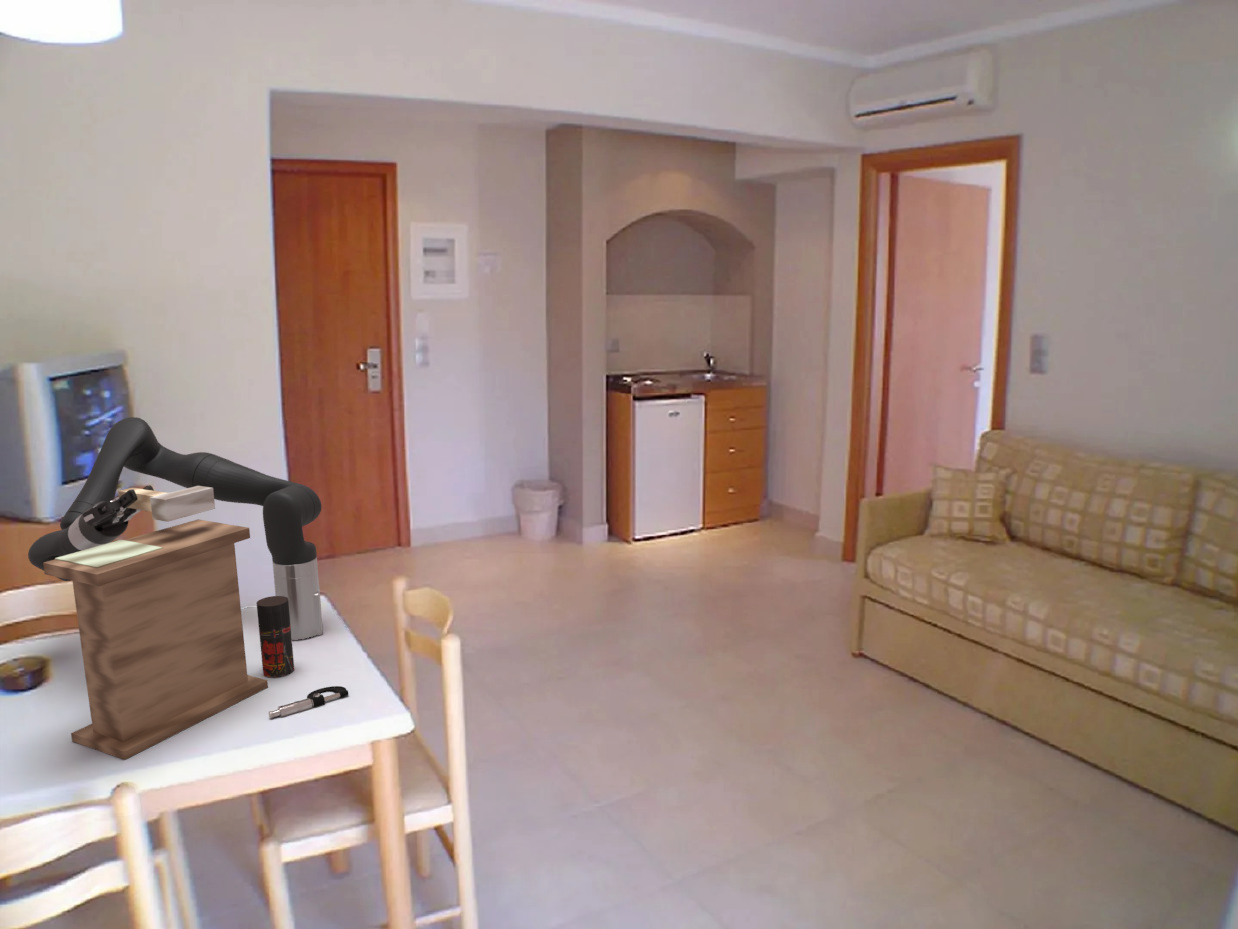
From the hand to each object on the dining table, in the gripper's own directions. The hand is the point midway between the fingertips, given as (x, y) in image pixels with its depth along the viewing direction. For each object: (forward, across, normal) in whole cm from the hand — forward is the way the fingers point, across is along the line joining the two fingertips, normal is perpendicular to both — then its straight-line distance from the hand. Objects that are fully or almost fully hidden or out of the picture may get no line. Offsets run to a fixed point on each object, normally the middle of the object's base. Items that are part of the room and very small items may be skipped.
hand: (142, 492), depth 170 cm
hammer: (+2, 0, +5) cm, 5 cm away
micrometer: (+7, +7, +49) cm, 50 cm away
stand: (-10, -7, +39) cm, 41 cm away
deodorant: (-6, +14, +41) cm, 44 cm away
